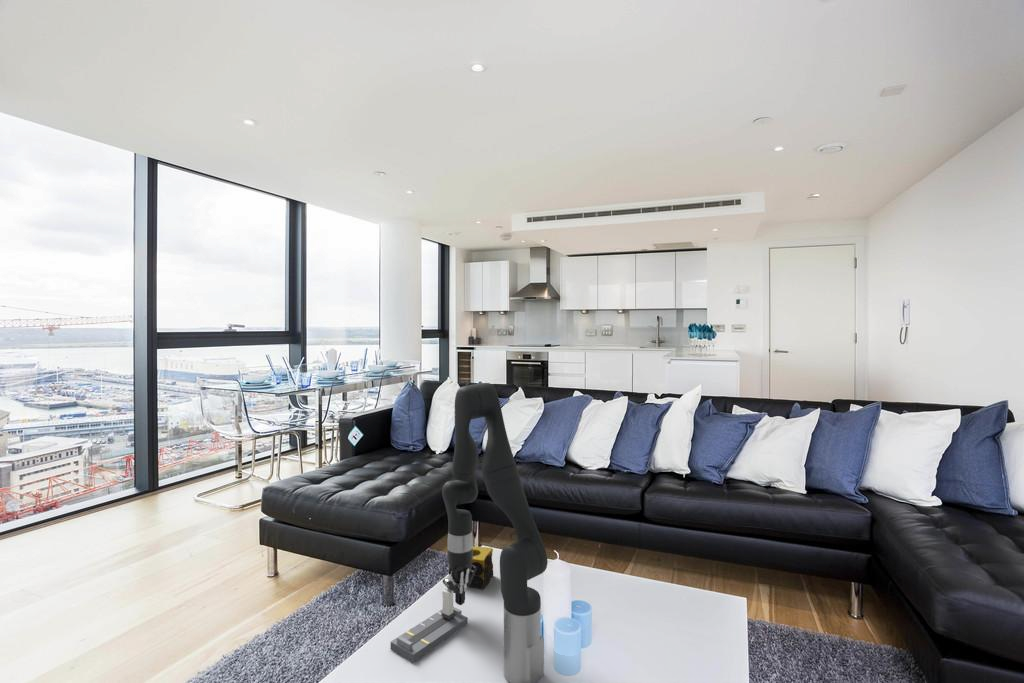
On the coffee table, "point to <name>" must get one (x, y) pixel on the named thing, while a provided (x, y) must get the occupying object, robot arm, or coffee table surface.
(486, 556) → the candle
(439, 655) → the coffee table surface
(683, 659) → the coffee table surface
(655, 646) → the coffee table surface
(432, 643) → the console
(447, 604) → the fader
